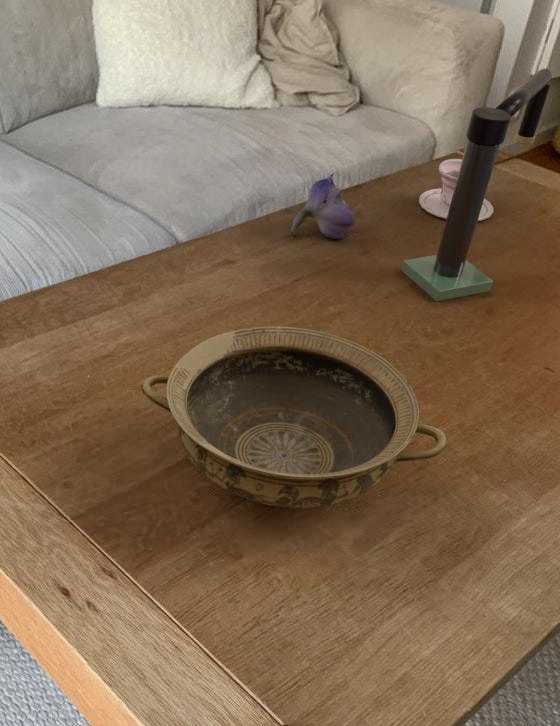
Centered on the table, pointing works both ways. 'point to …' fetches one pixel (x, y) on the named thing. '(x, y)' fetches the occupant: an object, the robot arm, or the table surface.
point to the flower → (326, 210)
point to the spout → (512, 113)
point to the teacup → (448, 192)
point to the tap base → (458, 233)
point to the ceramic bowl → (291, 415)
